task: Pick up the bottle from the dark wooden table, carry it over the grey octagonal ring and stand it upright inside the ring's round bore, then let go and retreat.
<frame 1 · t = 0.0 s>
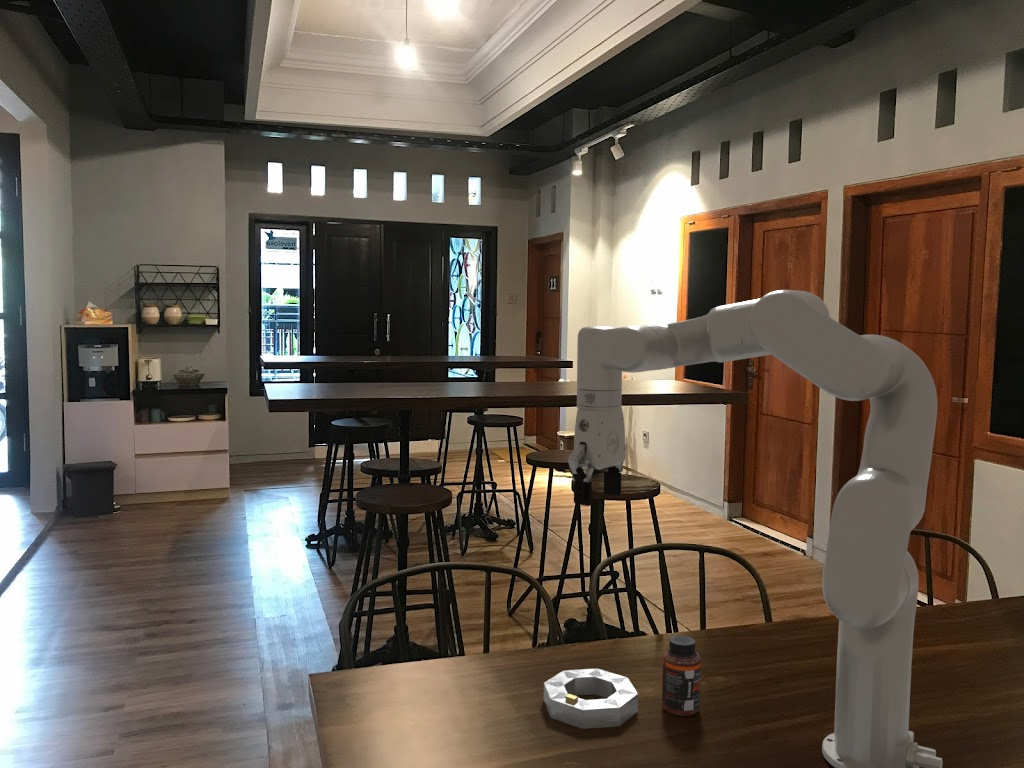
hand: (597, 499, 142), 31 cm above the table, fingers open, 9 cm apart
grey octagonal ring: (590, 706, 133), on the table
supplement bottle: (680, 710, 133), on the table
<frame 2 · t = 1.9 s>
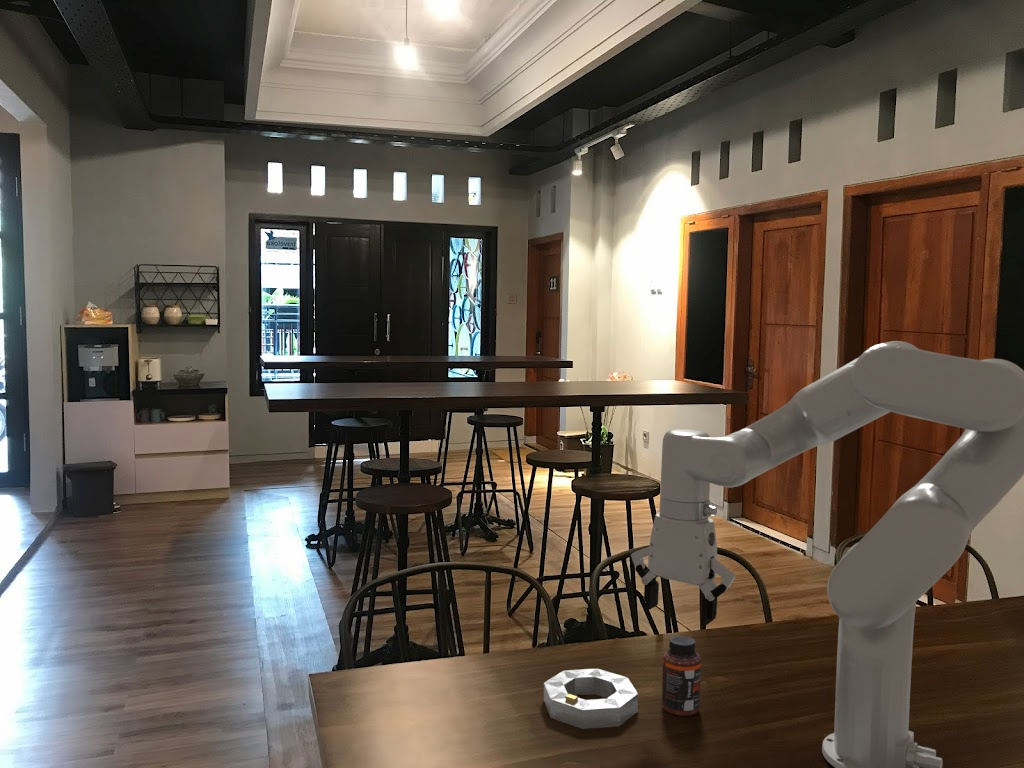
hand: (679, 614, 132), 15 cm above the table, fingers open, 9 cm apart
nothing on the table moved.
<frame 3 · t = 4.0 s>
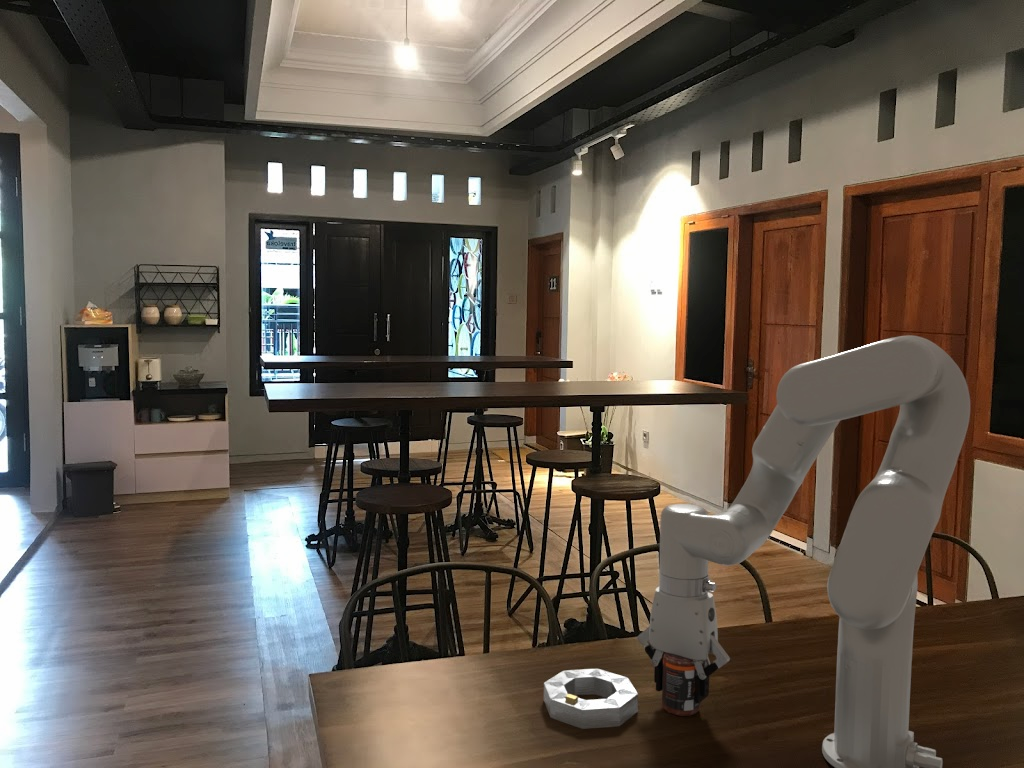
hand: (681, 693, 132), 3 cm above the table, fingers closed on supplement bottle, 6 cm apart
supplement bottle: (680, 710, 133), on the table, touching gripper
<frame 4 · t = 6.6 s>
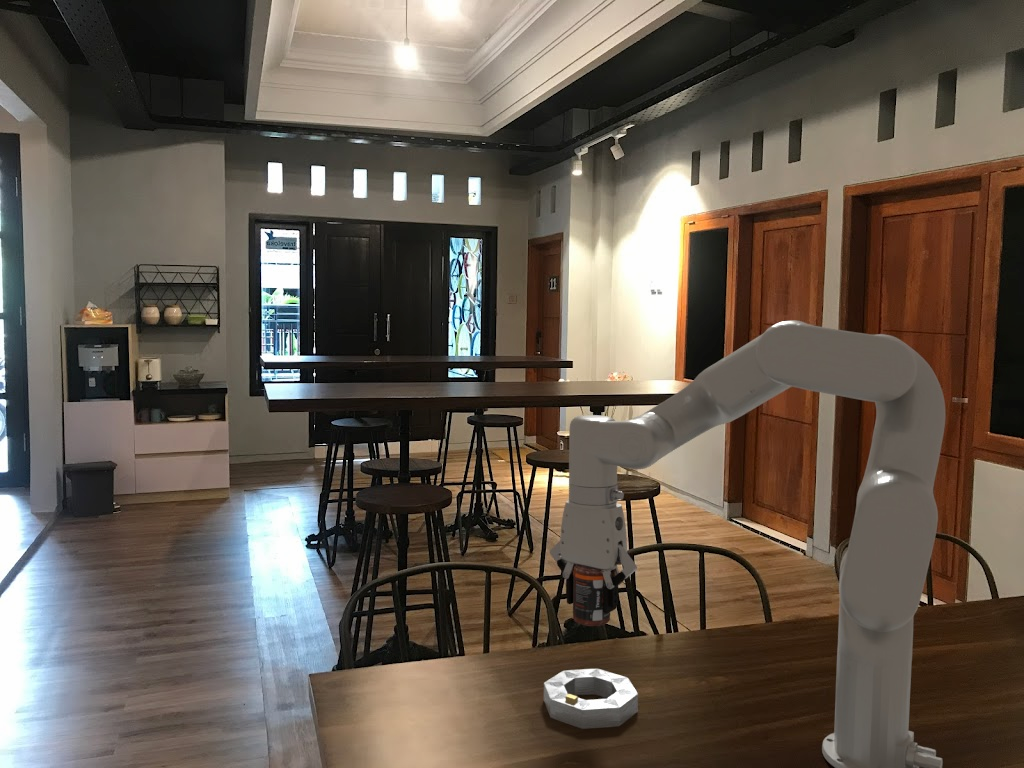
hand: (591, 605, 132), 17 cm above the table, fingers closed on supplement bottle, 6 cm apart
supplement bottle: (591, 622, 132), point 14 cm above the table, touching gripper
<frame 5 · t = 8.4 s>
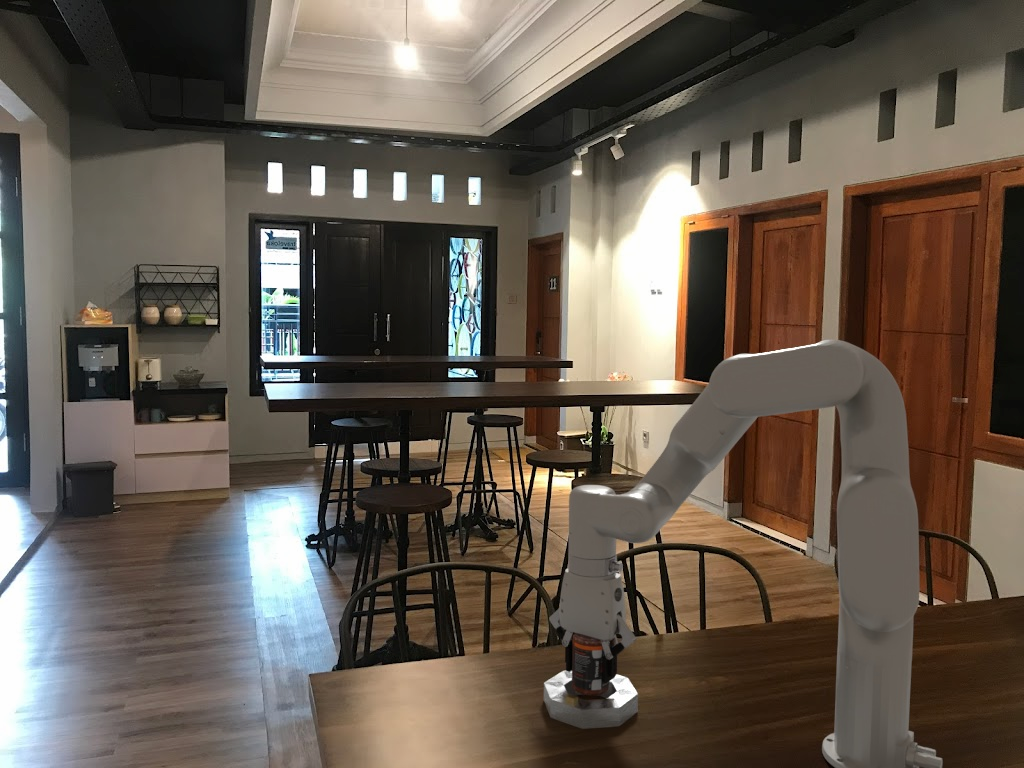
hand: (590, 673, 133), 5 cm above the table, fingers closed on supplement bottle, 6 cm apart
supplement bottle: (590, 690, 133), point 3 cm above the table, touching gripper
when the fingers open (4 cm above the table, at t = 9.5 s): supplement bottle drops 2 cm, resting in grey octagonal ring.
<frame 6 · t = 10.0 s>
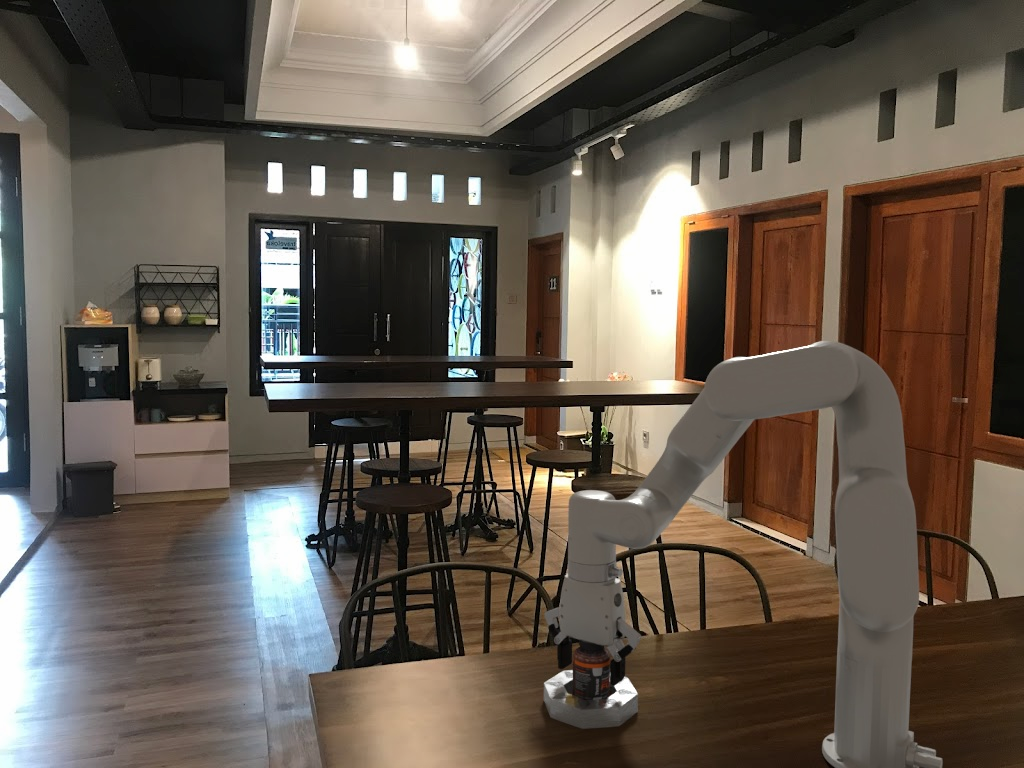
hand: (590, 674, 133), 5 cm above the table, fingers open, 9 cm apart
supplement bottle: (590, 707, 133), resting in grey octagonal ring
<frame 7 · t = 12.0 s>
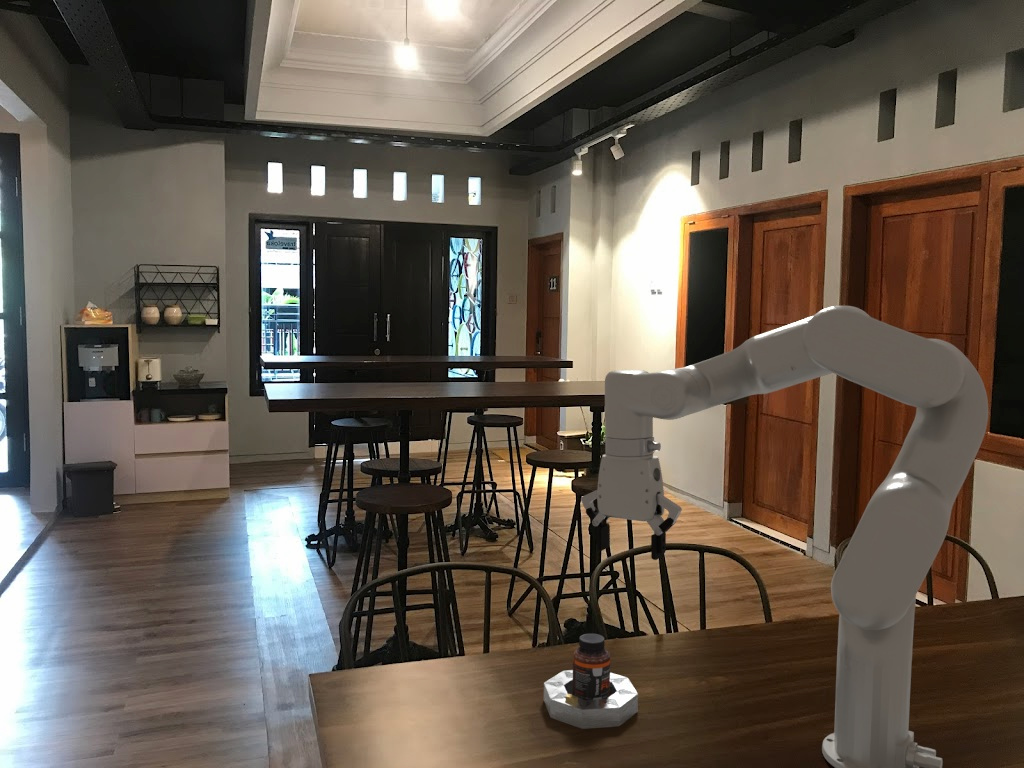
hand: (630, 553, 133), 24 cm above the table, fingers open, 9 cm apart
nothing on the table moved.
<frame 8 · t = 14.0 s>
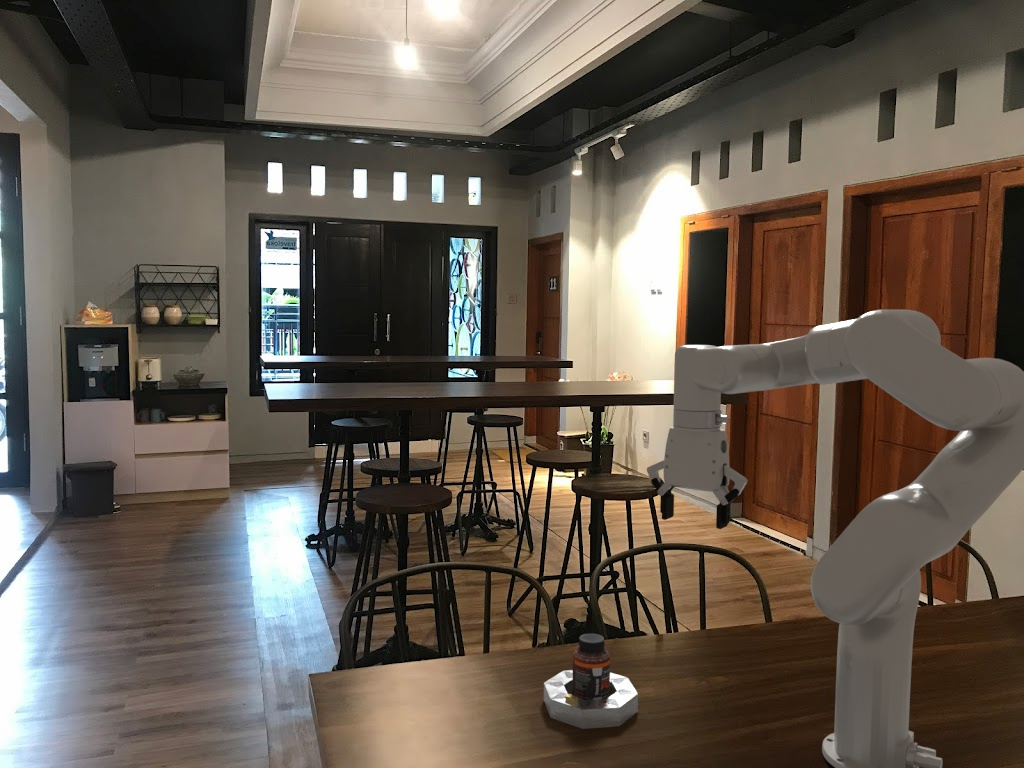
hand: (694, 522, 138), 28 cm above the table, fingers open, 9 cm apart
nothing on the table moved.
at the end: supplement bottle 0.1 cm from the grey octagonal ring (horizontally); supplement bottle resting in grey octagonal ring; supplement bottle tilted 0° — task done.
